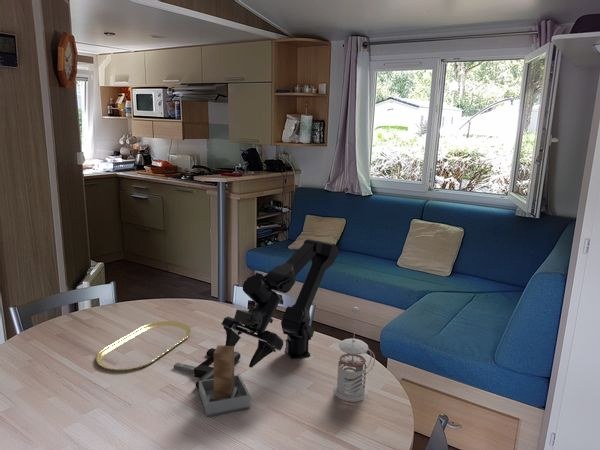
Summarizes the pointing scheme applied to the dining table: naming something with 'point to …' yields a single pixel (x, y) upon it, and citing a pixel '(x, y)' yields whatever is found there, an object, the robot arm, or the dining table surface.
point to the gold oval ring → (134, 334)
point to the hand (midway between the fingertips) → (237, 361)
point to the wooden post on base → (224, 374)
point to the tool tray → (227, 404)
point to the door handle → (203, 367)
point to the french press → (349, 381)
